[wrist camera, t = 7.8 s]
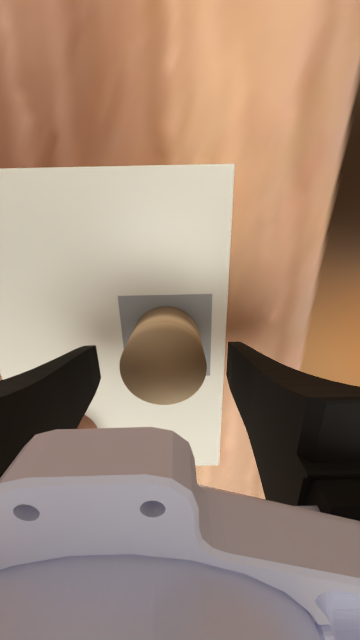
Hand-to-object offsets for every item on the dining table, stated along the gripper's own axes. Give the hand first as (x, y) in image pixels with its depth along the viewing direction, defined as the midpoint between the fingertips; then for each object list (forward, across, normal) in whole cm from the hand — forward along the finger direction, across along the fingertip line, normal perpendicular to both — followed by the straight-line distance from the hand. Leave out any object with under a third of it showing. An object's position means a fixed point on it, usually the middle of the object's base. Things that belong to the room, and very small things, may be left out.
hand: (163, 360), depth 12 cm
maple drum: (+3, 0, 0) cm, 3 cm away
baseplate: (+4, +4, +1) cm, 6 cm away
